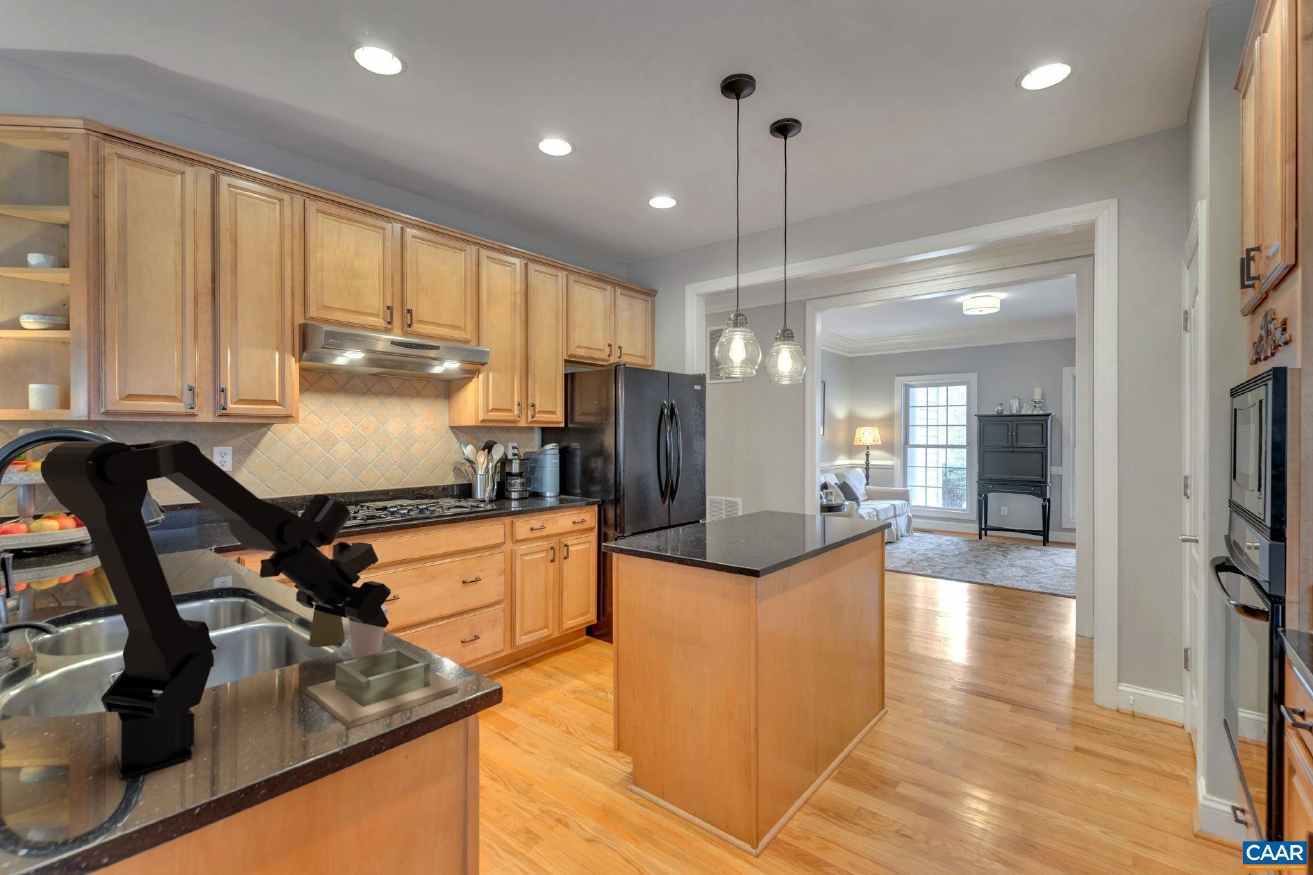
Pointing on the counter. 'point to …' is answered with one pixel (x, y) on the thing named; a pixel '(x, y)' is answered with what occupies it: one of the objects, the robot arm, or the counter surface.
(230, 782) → the counter surface
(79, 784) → the counter surface
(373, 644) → the smoothie
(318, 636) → the cork
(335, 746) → the counter surface
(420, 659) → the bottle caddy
